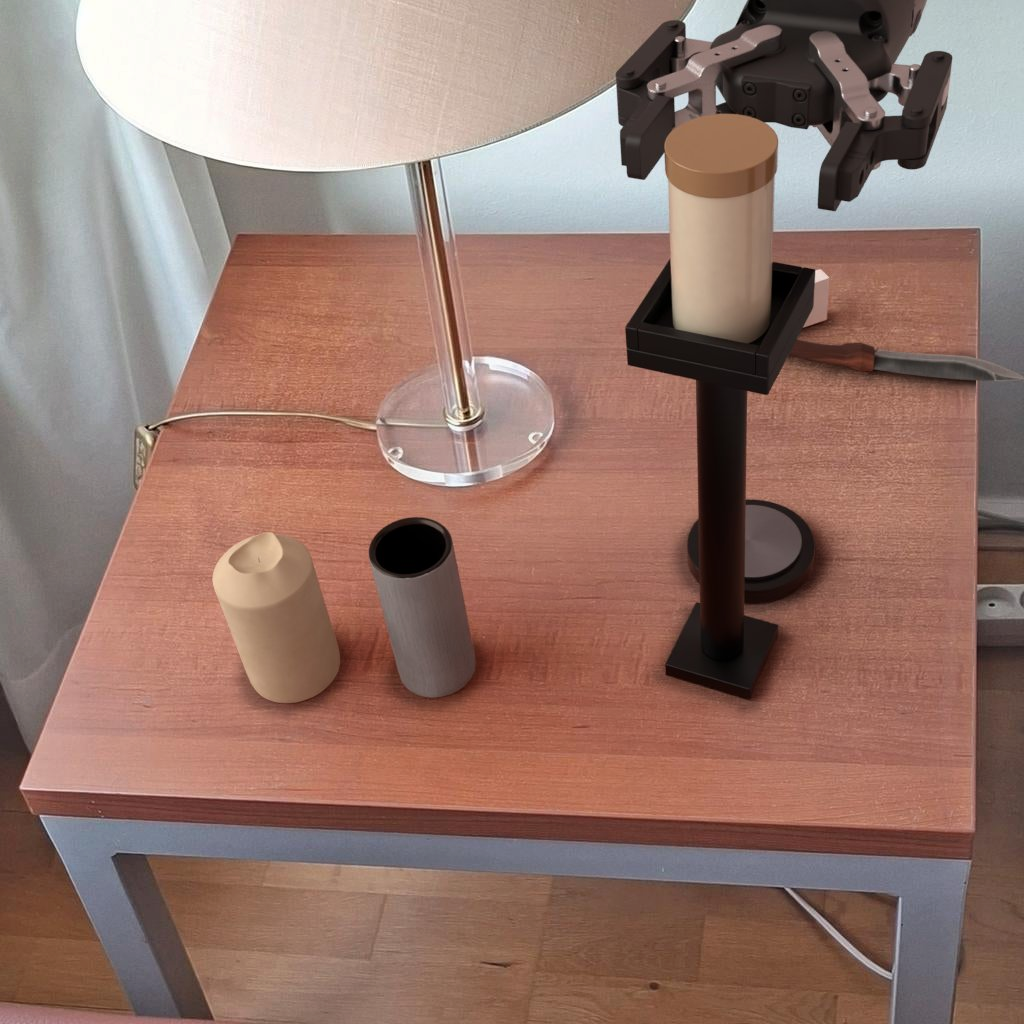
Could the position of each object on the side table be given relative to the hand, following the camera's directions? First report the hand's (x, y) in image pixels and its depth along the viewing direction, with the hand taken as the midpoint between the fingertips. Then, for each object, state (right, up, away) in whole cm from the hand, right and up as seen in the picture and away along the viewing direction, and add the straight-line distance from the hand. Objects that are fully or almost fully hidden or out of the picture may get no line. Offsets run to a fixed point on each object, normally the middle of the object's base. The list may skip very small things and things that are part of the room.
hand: (727, 176), depth 59 cm
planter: (-13, -23, +23) cm, 35 cm away
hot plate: (+5, -17, +26) cm, 32 cm away
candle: (-22, -23, +24) cm, 40 cm away
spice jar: (0, -5, +4) cm, 7 cm away
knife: (+16, -5, +36) cm, 40 cm away
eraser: (+11, -1, +42) cm, 43 cm away
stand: (+3, -22, +21) cm, 31 cm away
